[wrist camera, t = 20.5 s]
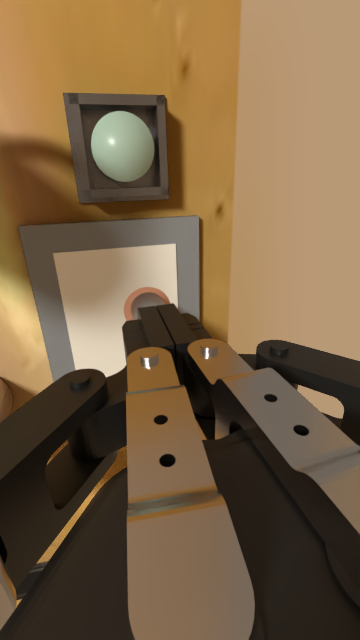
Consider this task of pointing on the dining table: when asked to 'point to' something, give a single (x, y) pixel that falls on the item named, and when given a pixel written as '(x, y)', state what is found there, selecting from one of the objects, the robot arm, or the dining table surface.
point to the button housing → (81, 123)
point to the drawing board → (106, 282)
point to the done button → (122, 146)
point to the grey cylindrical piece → (145, 302)
